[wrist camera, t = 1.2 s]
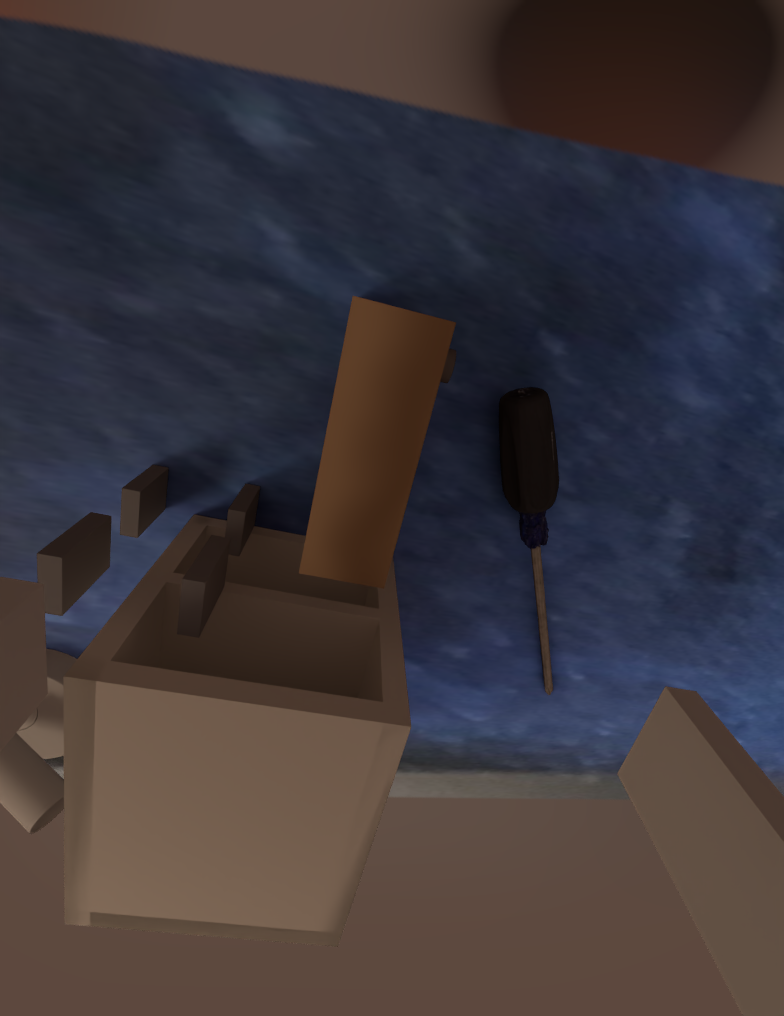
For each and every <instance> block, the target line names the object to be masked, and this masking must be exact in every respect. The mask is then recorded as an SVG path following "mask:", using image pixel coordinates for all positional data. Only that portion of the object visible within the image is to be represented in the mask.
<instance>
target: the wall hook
mask: <svg viewBox="0 0 784 1016" xmlns="http://www.w3.org/2000/svg"><path fill="white" fill-rule="evenodd" d="M46 660H47V686H48V694H47V696H46V697H45V698H44V699H43V701H42V702H41V703H40V704H39V705H38V707H37V708H36V709H35V710H34V711H33V713H32V714H31V715H30V716H29V718H28V719H27V720H26V721H25V722H24V724H23V725H22V726H21V727H20V729H19V730H18V731H17V732H16V733H15V735H14V736H13V737H12V738H11V739H10V741H9V742H8V743H7V744H6V746H5V747H4V748H3V749H2V750H1V752H0V803H1V804H2V805H3V806H4V807H5V808H6V809H7V810H8V811H9V812H10V813H11V814H12V816H14V818H15V819H16V820H17V821H18V822H19V823H20V824H21V825H22V826H23V827H24V828H25V829H26V830H27V831H28V832H29V833H30V834H33V833H35V832H37V831H39V830H40V829H41V828H43V827H44V826H46V825H47V824H48V823H49V822H50V821H52V820H53V819H54V818H55V817H56V816H57V815H58V814H59V813H60V812H61V811H62V810H63V809H64V779H63V778H62V777H61V776H60V775H59V774H58V773H57V772H56V771H55V770H54V769H53V768H52V767H51V766H50V765H49V764H47V763H46V762H45V761H44V760H43V759H49V758H56V757H60V756H63V755H64V689H63V676H64V675H65V674H66V673H67V671H68V670H69V669H70V668H71V666H72V665H73V664H74V663H75V661H76V660H77V659H76V658H74V657H72V656H70V655H68V654H65V653H62V652H59V651H56V650H51V649H46Z"/></svg>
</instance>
